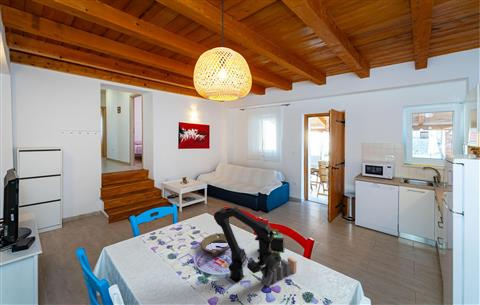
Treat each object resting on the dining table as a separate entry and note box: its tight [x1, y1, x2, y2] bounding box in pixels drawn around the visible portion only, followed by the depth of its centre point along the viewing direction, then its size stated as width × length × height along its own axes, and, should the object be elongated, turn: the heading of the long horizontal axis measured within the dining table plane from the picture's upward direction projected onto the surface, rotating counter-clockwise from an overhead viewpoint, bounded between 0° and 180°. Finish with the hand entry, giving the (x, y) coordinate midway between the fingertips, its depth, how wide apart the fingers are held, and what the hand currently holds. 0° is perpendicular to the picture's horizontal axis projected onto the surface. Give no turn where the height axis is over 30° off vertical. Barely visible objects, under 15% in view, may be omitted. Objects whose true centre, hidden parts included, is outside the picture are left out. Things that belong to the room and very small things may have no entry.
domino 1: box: [260, 270, 274, 287], centre depth 109 cm, size 2×5×7 cm, turn 35°
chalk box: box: [268, 228, 283, 256], centre depth 140 cm, size 9×9×15 cm
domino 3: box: [276, 264, 284, 281], centre depth 114 cm, size 2×5×7 cm, turn 33°
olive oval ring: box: [200, 232, 230, 257], centre depth 142 cm, size 22×30×8 cm
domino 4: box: [280, 258, 291, 278], centre depth 117 cm, size 2×5×7 cm, turn 34°
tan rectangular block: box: [287, 256, 297, 274], centre depth 119 cm, size 2×5×7 cm, turn 34°
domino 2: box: [271, 269, 278, 285], centre depth 111 cm, size 2×5×7 cm, turn 33°
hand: (264, 277), depth 108 cm, fingers closed
